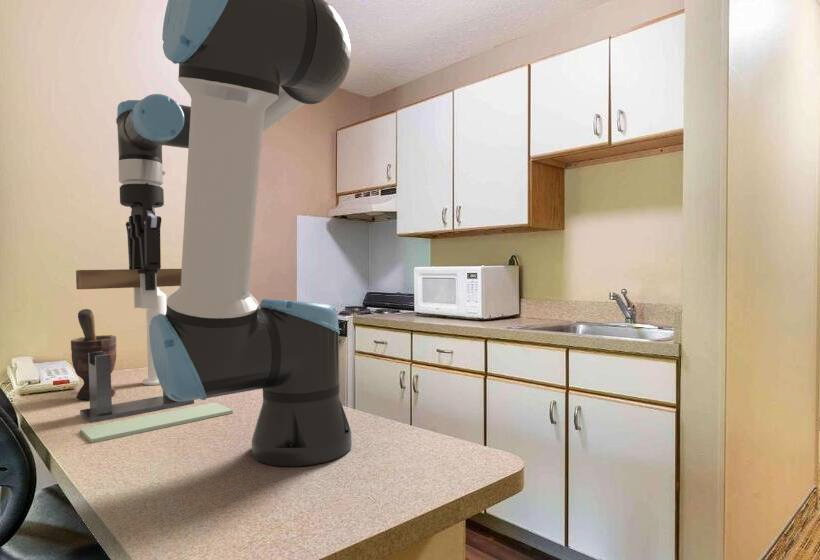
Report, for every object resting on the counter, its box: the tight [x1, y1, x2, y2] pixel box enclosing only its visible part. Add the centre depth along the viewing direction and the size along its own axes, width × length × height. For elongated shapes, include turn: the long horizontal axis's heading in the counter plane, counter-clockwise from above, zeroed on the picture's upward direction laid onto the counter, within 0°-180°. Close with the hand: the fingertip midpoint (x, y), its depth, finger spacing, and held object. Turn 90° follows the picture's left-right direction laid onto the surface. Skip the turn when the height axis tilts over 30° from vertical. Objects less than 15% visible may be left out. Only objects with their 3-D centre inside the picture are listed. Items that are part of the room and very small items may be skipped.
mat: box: [79, 402, 234, 444], centre depth 97 cm, size 8×24×1 cm, turn 133°
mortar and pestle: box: [70, 308, 117, 401], centre depth 115 cm, size 12×9×20 cm
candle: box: [142, 287, 167, 386], centre depth 130 cm, size 7×7×25 cm
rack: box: [79, 351, 195, 424], centre depth 106 cm, size 8×19×12 cm, turn 133°
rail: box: [75, 268, 182, 290], centre depth 101 cm, size 3×22×3 cm, turn 133°
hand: (145, 307), depth 101 cm, fingers closed on rail, 3 cm apart
